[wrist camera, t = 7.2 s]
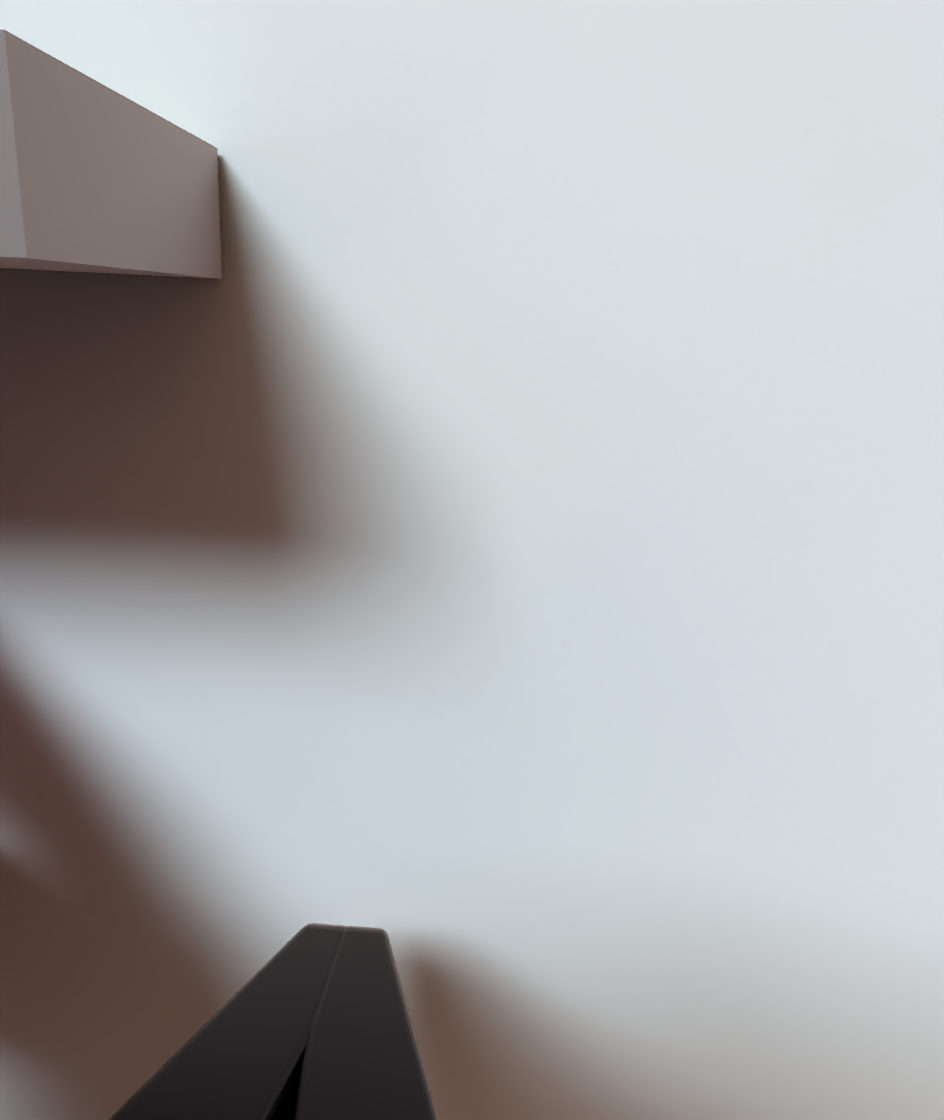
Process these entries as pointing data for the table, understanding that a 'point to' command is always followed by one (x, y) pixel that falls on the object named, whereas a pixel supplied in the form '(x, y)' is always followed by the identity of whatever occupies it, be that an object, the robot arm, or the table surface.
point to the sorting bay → (98, 177)
